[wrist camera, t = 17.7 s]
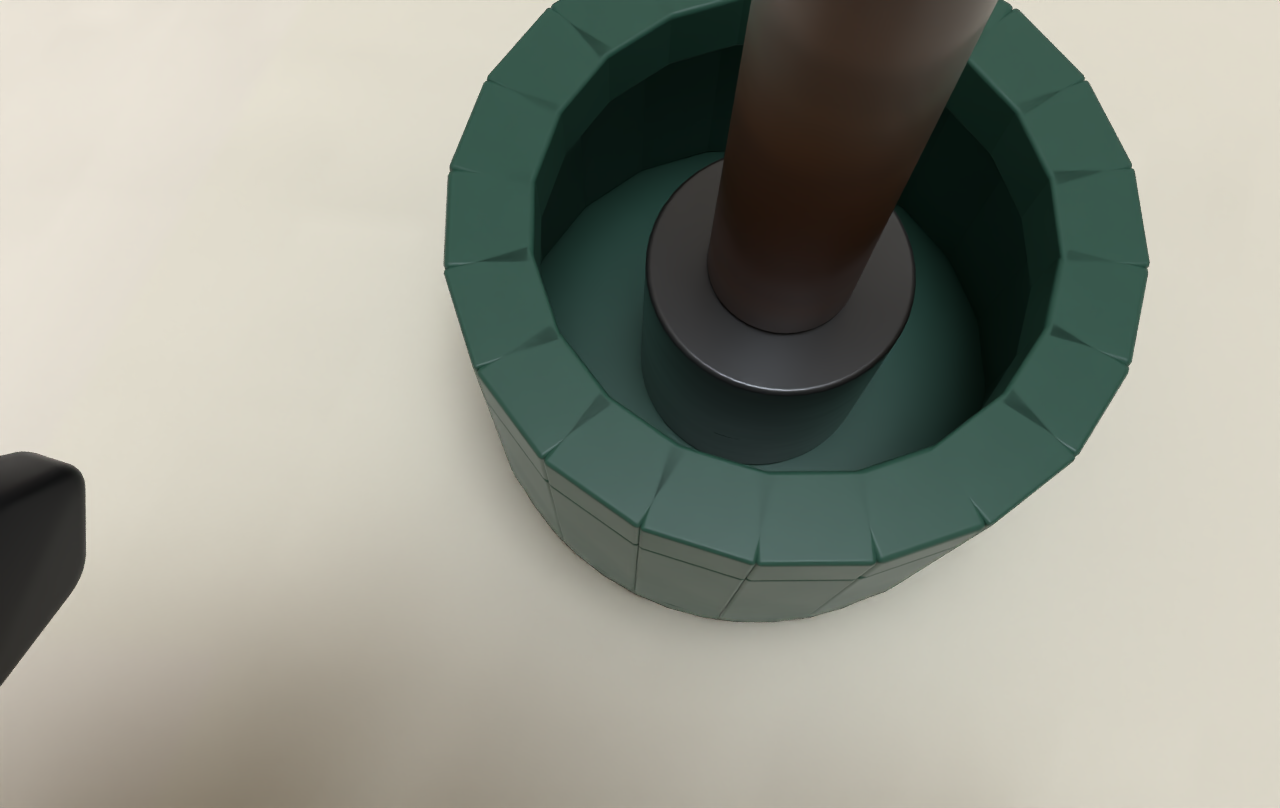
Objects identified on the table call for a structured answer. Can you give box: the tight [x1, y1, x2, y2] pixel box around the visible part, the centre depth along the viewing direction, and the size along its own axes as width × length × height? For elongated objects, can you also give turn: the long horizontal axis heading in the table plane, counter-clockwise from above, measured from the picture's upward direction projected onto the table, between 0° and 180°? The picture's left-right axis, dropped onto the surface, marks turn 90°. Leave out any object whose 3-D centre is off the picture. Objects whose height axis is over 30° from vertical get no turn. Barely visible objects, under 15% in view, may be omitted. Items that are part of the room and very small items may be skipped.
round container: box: [444, 0, 1150, 622], centre depth 18 cm, size 9×9×6 cm
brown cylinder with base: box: [641, 0, 998, 464], centre depth 14 cm, size 4×4×13 cm
